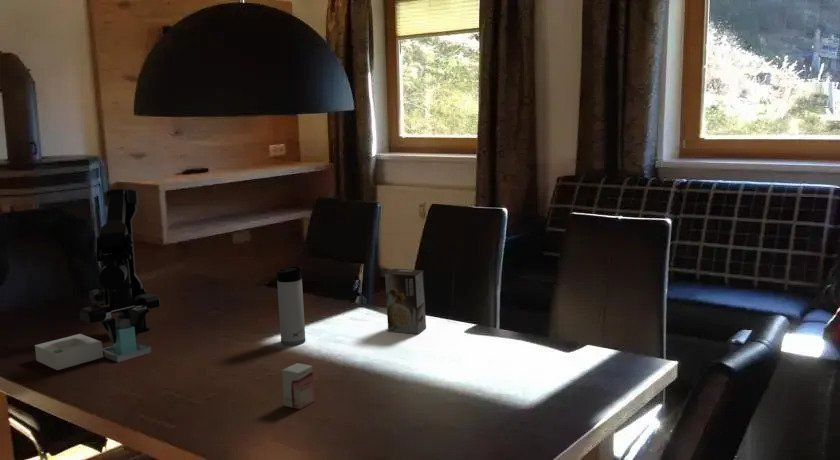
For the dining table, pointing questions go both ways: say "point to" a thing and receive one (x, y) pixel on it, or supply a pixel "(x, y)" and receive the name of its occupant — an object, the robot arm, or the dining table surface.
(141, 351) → the open square ring
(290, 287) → the travel mug
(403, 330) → the coffee box
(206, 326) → the dining table surface
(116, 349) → the plug
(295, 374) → the small box
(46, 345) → the frame
